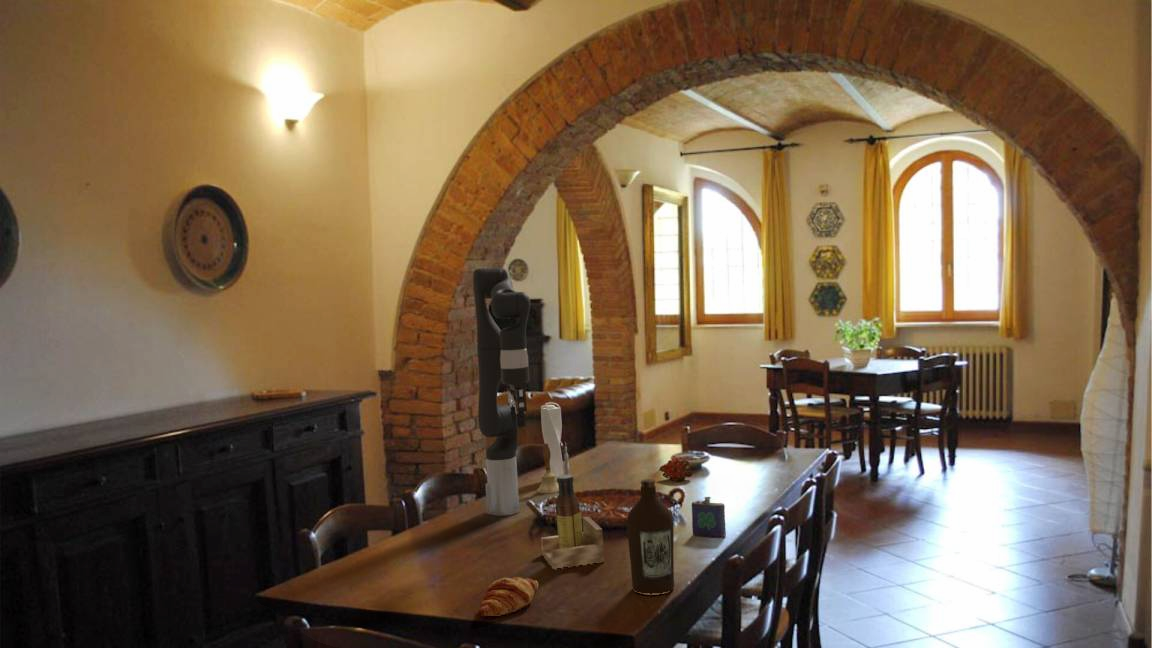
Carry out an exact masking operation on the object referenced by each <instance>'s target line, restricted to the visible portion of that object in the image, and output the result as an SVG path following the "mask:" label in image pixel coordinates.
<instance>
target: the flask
mask: <svg viewBox="0 0 1152 648" xmlns="http://www.w3.org/2000/svg"><path fill="white" fill-rule="evenodd" d="M711 498H712V497H711V496H705V497H704V500H699V499H698V500H697V501H693V502H691V514H692V515H691V520H692V521H691V523H692V525H691V526H692V528H691V529H692V536H694V537H699V538H700V537H701V538H711V539H712V538H714V539H715V538H716V539H724V538H726V537H727V536H726V535H727V531H726V515H725V510H726V508H725V507H726V506H725V504H724V503H723V502H722V503H721V502H719V503H718V502H716V503H715V502H711V501H710V499H711Z"/></svg>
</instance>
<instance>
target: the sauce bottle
mask: <svg viewBox="0 0 1152 648" xmlns="http://www.w3.org/2000/svg"><path fill="white" fill-rule="evenodd" d="M557 484H558V485H559V492H558V497H557V500H556V502H555V514H556V525H557V535H558V537H559V547H560V549H562V548H569V547H577V546H583V533H582V532H583V522H582V515H581V509H580V500H579V498H578V496H577V495H576V493H575V491H574V490H575V489H574V475H572V474H570V475H565V474H564V475H561V476H558V477H557Z"/></svg>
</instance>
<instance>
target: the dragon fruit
mask: <svg viewBox="0 0 1152 648" xmlns="http://www.w3.org/2000/svg"><path fill="white" fill-rule="evenodd" d="M658 471H659V472H662V477H664V478H665V479H668V480H671V481H673V482H676V481H677V482H678V480H679V481H681V482H684V481H686V478H691V477H692V476H693V473H692V472H693V471H694V467H693V466H692V464H691V463H690V461H689V460H686V459H685V458H683V457H682V456H679V458H677V457H671V458H670V459H669V460H668V461H667V463H664V464H662V465H661V466H660V467H659V469H658Z"/></svg>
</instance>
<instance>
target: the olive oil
mask: <svg viewBox="0 0 1152 648" xmlns="http://www.w3.org/2000/svg"><path fill="white" fill-rule="evenodd" d="M655 483H656V480H654V479H651V478H645V479H641V480H640V485H641V486H640V495H641V496H640V498H639V499H638V501H636V503H635V504H634V506H632V508H631V509H630V510H629V512H628V514H627V519H626V532H627V540H628V551H629V553H628V554H629V562H630V571H631V583H632V584H631V585H632V586H631V587H632V590H633V589H634V590H635V591H637V592H641V593H650V594H652V593H663V592H668V591H671V590H672V589H673V588H674V589H675V577H674V575H675V572H674V571H675V570H674V569H675V567H674V564H675V563H674V559H675V557H674V556H675V555H674V541H675V540H674V537H675V536H674V531H675V530H674V525H675V524H674V523H675V522H674V519H673V516H672V512H671V510H670V509H669V508H668V507H667V506H666V504H664V503H663V502H662V501H661V500H660V499H659V498H658V497H657V489H656V488H657V487H656V485H655ZM674 589H673V590H674ZM671 592H672V591H671Z"/></svg>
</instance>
